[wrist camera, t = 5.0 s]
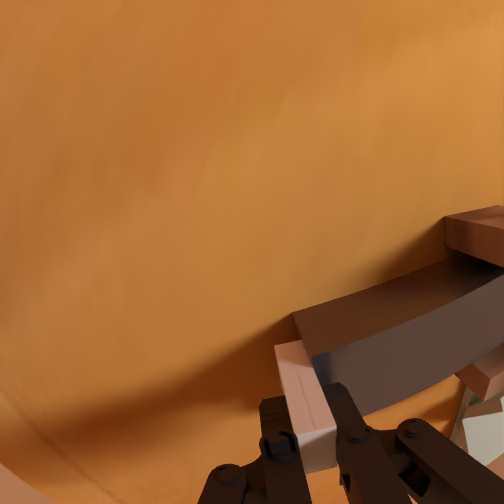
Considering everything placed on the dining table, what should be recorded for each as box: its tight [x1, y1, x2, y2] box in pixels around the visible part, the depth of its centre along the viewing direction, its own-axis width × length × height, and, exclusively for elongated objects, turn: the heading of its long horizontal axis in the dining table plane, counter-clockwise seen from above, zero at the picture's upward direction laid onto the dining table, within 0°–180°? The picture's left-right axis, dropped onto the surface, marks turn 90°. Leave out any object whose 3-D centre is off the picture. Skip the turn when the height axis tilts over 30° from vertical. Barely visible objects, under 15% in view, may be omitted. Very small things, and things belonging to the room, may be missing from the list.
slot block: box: [444, 205, 504, 402], centre depth 14 cm, size 6×11×6 cm, turn 11°
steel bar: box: [292, 252, 504, 417], centre depth 15 cm, size 17×5×5 cm, turn 106°
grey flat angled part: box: [449, 386, 504, 466], centre depth 18 cm, size 7×11×6 cm, turn 11°
